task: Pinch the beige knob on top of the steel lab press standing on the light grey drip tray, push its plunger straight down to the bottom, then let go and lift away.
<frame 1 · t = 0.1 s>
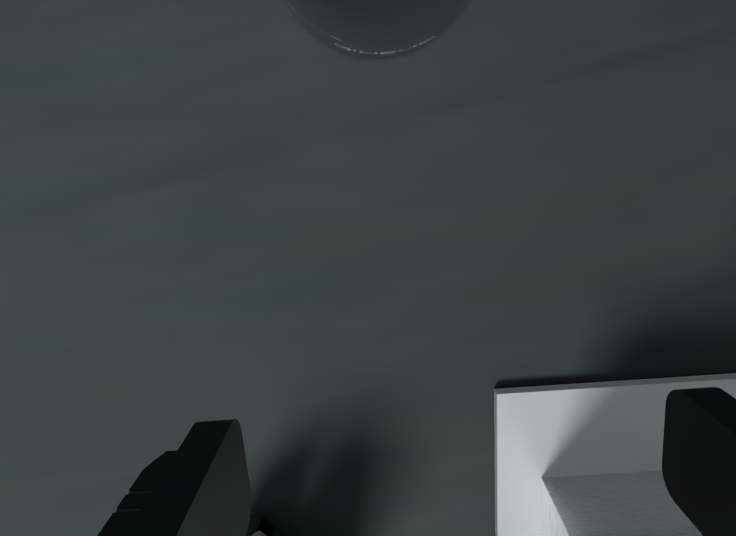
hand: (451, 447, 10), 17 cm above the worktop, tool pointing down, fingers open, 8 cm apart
tray: (611, 530, 31), on the worktop
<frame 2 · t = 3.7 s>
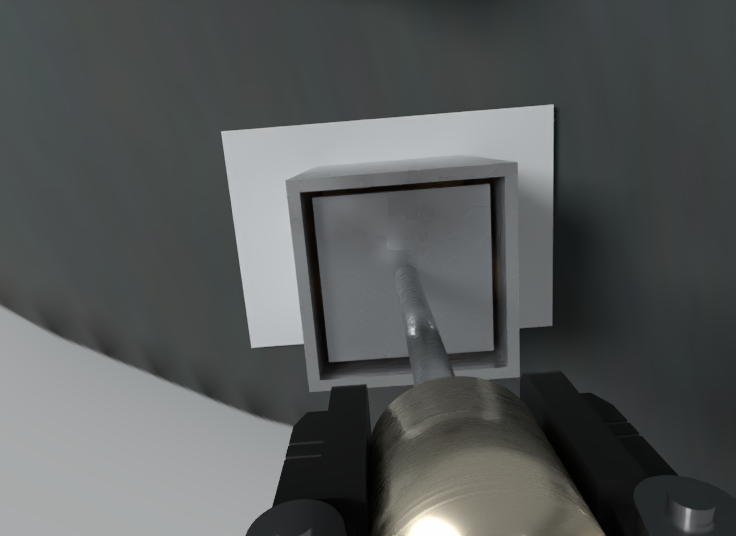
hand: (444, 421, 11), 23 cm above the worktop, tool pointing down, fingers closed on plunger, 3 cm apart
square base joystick: (399, 252, 27), on the tray, point 7 cm above the worktop
plunger: (425, 347, 15), point 19 cm above the worktop, slide at 0.0 cm, touching gripper
tray: (393, 231, 33), on the worktop
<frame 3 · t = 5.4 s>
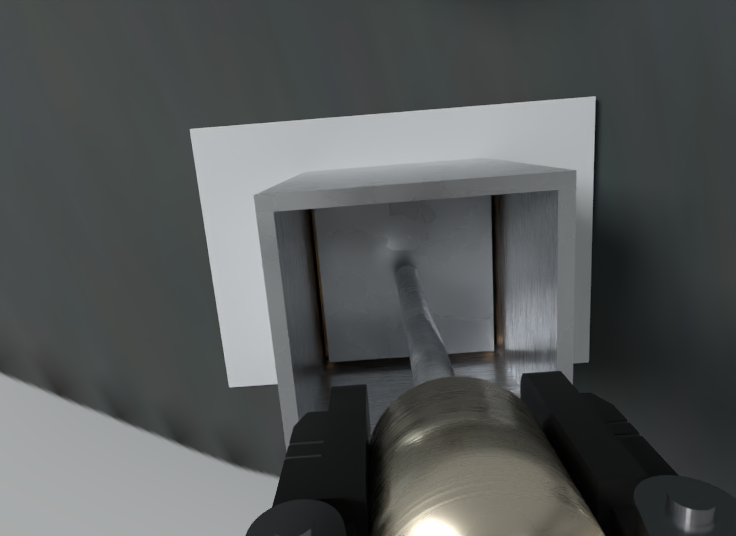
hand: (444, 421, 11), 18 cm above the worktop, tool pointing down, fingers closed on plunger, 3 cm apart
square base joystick: (408, 281, 21), on the tray, point 7 cm above the worktop
plunger: (425, 347, 15), point 14 cm above the worktop, slide at 5.8 cm, touching gripper
tray: (399, 249, 28), on the worktop
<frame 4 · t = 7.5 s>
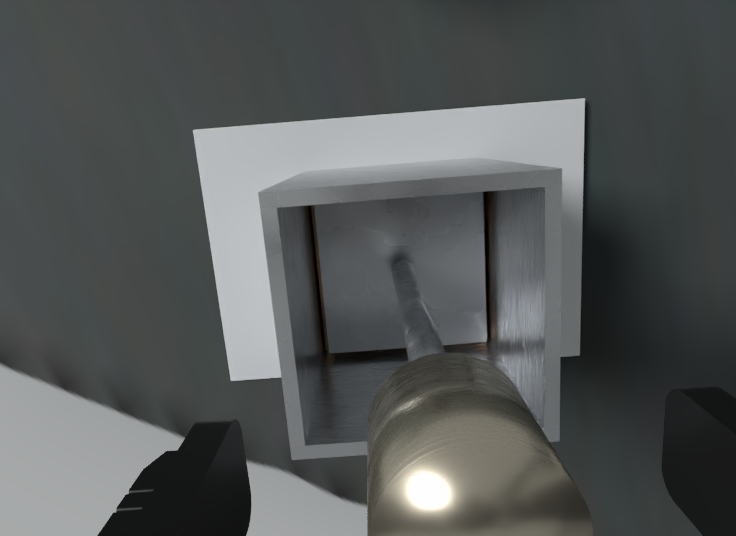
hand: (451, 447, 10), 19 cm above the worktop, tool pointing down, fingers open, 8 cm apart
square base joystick: (404, 276, 22), on the tray, point 7 cm above the worktop
plunger: (420, 334, 16), point 13 cm above the worktop, slide at 5.9 cm
tray: (395, 246, 29), on the worktop
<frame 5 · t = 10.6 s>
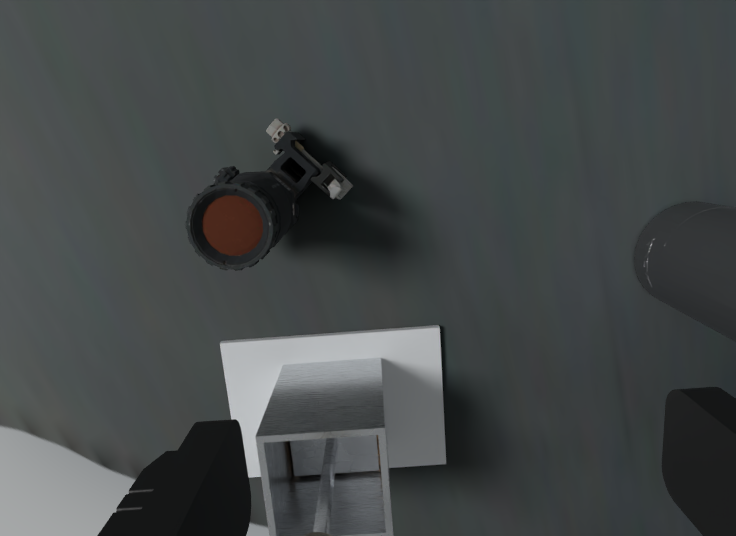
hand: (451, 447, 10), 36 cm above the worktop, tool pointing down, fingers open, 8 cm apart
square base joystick: (332, 441, 43), on the tray, point 7 cm above the worktop
plunger: (325, 496, 36), point 13 cm above the worktop, slide at 5.9 cm
tray: (336, 402, 49), on the worktop
scope: (281, 193, 45), on the worktop
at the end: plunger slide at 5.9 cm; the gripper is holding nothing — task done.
